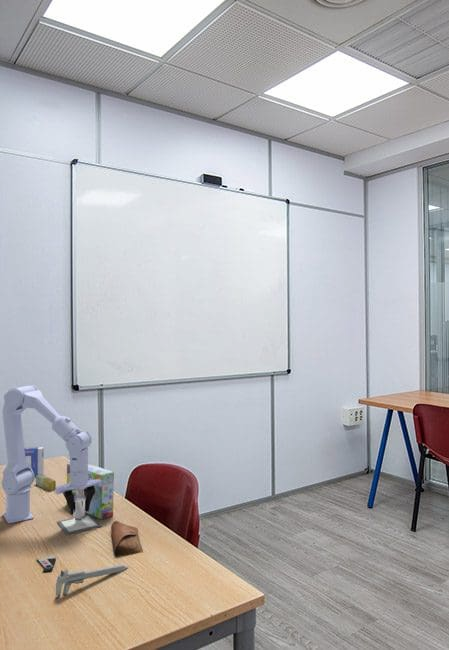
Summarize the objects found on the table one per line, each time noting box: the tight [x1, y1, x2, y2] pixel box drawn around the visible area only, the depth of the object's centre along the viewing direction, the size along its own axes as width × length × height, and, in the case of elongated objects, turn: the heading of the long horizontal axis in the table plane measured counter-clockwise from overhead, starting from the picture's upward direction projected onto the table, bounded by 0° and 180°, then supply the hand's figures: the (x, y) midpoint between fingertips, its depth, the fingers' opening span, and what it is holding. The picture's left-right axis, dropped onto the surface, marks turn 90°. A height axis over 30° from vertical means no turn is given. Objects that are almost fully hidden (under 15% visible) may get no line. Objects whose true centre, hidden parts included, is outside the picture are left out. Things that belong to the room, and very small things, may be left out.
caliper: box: [55, 564, 130, 598], centre depth 128 cm, size 20×1×6 cm, turn 136°
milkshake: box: [72, 493, 88, 525], centre depth 163 cm, size 4×5×10 cm
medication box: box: [35, 474, 57, 492], centre depth 199 cm, size 12×3×4 cm, turn 47°
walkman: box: [24, 446, 45, 478], centre depth 214 cm, size 8×3×12 cm, turn 102°
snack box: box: [66, 462, 115, 520], centre depth 176 cm, size 21×6×15 cm, turn 50°
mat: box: [56, 514, 102, 535], centre depth 163 cm, size 11×11×1 cm
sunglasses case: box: [110, 520, 144, 557], centre depth 151 cm, size 18×7×7 cm
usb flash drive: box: [36, 555, 57, 573], centre depth 137 cm, size 9×5×1 cm, turn 9°
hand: (79, 511), depth 163 cm, fingers closed on milkshake, 4 cm apart
